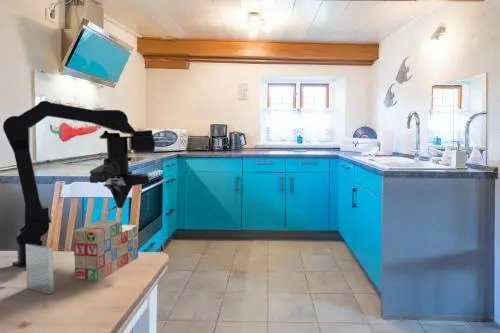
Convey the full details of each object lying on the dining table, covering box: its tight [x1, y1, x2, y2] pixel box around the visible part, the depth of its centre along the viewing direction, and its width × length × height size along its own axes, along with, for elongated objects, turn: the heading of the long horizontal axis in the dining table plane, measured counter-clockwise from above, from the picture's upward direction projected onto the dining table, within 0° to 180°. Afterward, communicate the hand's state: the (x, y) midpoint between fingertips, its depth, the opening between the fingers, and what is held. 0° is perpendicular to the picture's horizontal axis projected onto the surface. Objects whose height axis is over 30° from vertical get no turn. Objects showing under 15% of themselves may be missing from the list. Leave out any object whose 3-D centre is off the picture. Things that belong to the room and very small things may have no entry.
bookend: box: [25, 243, 55, 295], centre depth 94 cm, size 8×1×10 cm, turn 61°
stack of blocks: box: [73, 219, 139, 282], centre depth 112 cm, size 21×6×12 cm, turn 169°
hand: (120, 207), depth 124 cm, fingers closed
